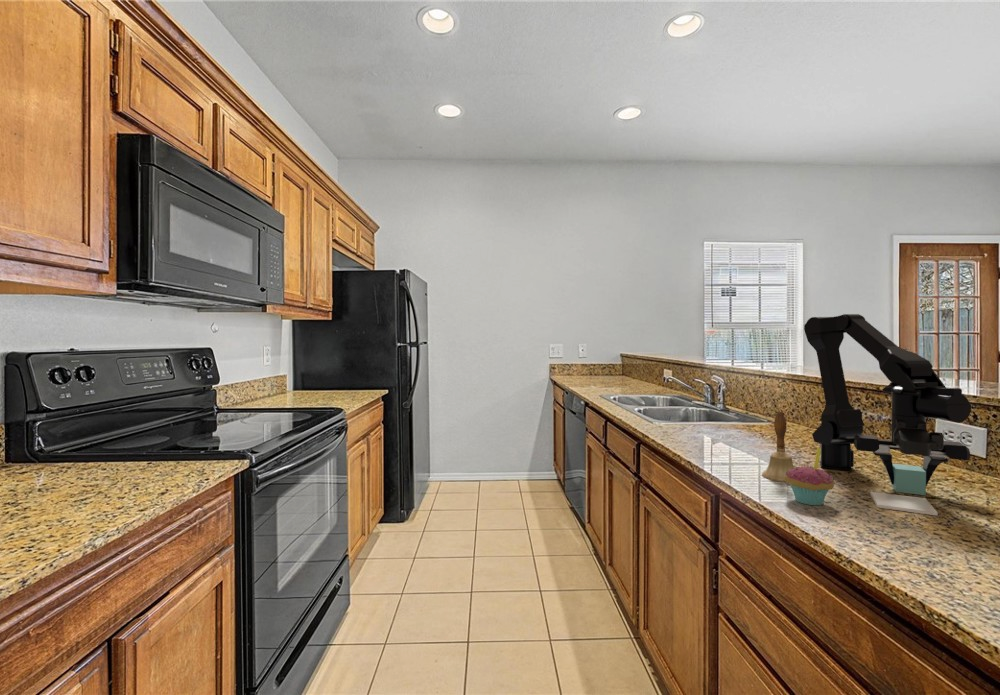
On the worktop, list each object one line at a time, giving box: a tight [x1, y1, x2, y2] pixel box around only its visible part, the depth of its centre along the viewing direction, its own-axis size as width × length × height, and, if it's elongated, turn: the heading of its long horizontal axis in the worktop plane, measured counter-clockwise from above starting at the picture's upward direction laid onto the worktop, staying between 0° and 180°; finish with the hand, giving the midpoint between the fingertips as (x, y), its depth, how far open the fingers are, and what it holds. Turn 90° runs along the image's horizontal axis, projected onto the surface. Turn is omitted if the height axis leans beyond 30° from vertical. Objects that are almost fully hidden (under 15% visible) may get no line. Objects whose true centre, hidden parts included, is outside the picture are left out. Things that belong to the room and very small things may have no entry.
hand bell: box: [761, 410, 795, 483], centre depth 115 cm, size 8×8×16 cm
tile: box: [869, 491, 939, 516], centre depth 96 cm, size 9×9×1 cm
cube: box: [890, 463, 927, 496], centre depth 105 cm, size 5×5×5 cm
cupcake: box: [784, 443, 835, 506], centre depth 98 cm, size 9×8×12 cm
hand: (907, 485), depth 105 cm, fingers closed on cube, 5 cm apart
